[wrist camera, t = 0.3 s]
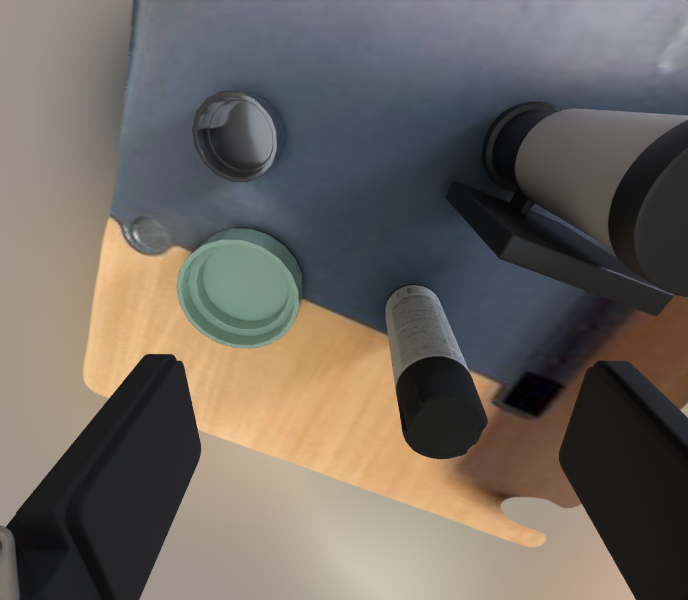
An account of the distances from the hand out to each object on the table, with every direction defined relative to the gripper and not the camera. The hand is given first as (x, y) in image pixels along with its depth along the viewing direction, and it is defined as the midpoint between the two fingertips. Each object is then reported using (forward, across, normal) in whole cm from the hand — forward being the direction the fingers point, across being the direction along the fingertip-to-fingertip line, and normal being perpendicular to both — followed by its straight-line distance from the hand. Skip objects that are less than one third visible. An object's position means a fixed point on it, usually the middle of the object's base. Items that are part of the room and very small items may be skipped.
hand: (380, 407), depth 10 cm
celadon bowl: (+36, +13, +12) cm, 40 cm away
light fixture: (+36, -16, -1) cm, 39 cm away
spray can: (+36, -7, +16) cm, 40 cm away
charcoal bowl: (+35, +11, -3) cm, 37 cm away
